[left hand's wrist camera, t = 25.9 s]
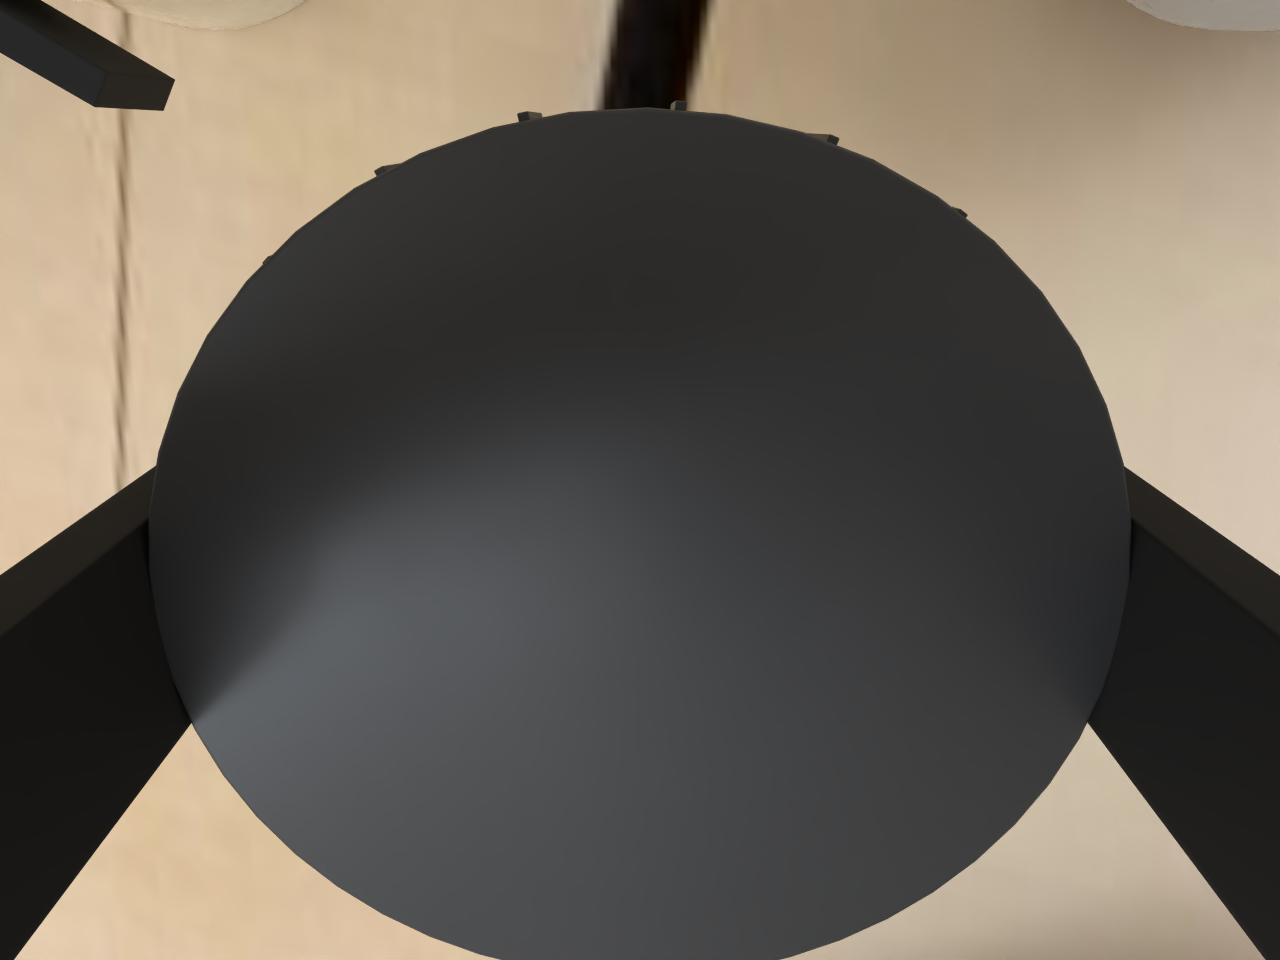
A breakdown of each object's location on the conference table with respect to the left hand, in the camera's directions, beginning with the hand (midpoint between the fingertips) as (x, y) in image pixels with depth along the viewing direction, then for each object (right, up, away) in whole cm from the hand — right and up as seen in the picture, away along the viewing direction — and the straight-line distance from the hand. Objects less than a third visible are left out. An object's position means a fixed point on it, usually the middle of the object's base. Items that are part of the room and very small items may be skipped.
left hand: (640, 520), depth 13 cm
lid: (0, -1, -3) cm, 3 cm away
